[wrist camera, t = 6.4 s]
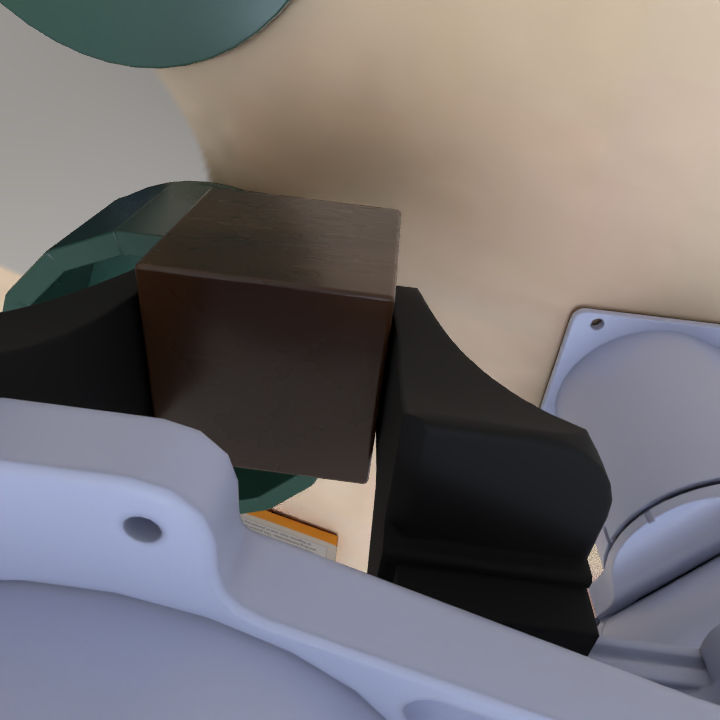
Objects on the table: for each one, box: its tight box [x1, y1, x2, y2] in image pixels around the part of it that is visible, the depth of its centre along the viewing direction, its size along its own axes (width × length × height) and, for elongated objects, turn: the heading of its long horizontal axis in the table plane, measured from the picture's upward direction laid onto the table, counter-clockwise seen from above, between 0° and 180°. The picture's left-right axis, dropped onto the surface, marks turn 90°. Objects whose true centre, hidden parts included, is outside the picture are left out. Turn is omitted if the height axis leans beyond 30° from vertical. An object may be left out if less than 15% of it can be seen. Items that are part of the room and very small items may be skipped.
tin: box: [3, 181, 317, 514], centre depth 24 cm, size 13×13×6 cm
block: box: [135, 187, 401, 484], centre depth 13 cm, size 4×4×4 cm
